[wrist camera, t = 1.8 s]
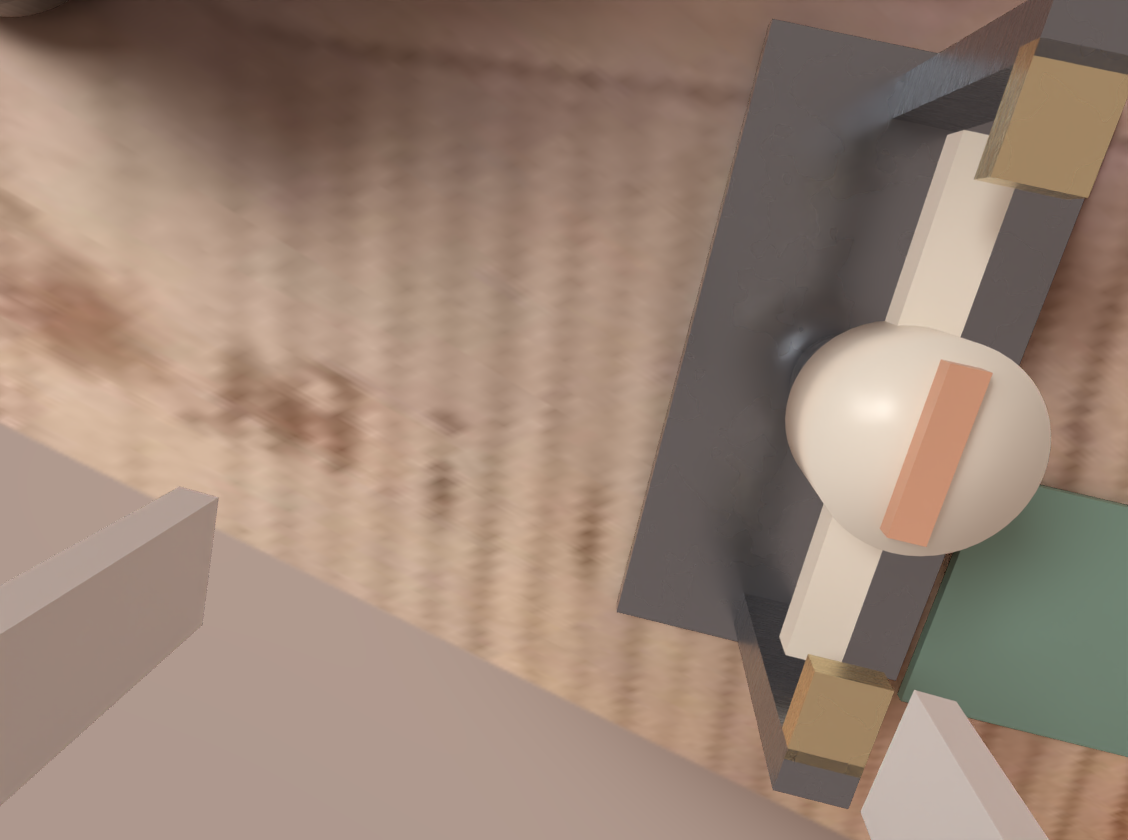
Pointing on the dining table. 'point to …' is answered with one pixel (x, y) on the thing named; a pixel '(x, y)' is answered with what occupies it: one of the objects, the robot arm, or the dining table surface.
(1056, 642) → the mat
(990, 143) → the grey frame
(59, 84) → the dining table surface
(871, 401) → the cream crossbar with hub
